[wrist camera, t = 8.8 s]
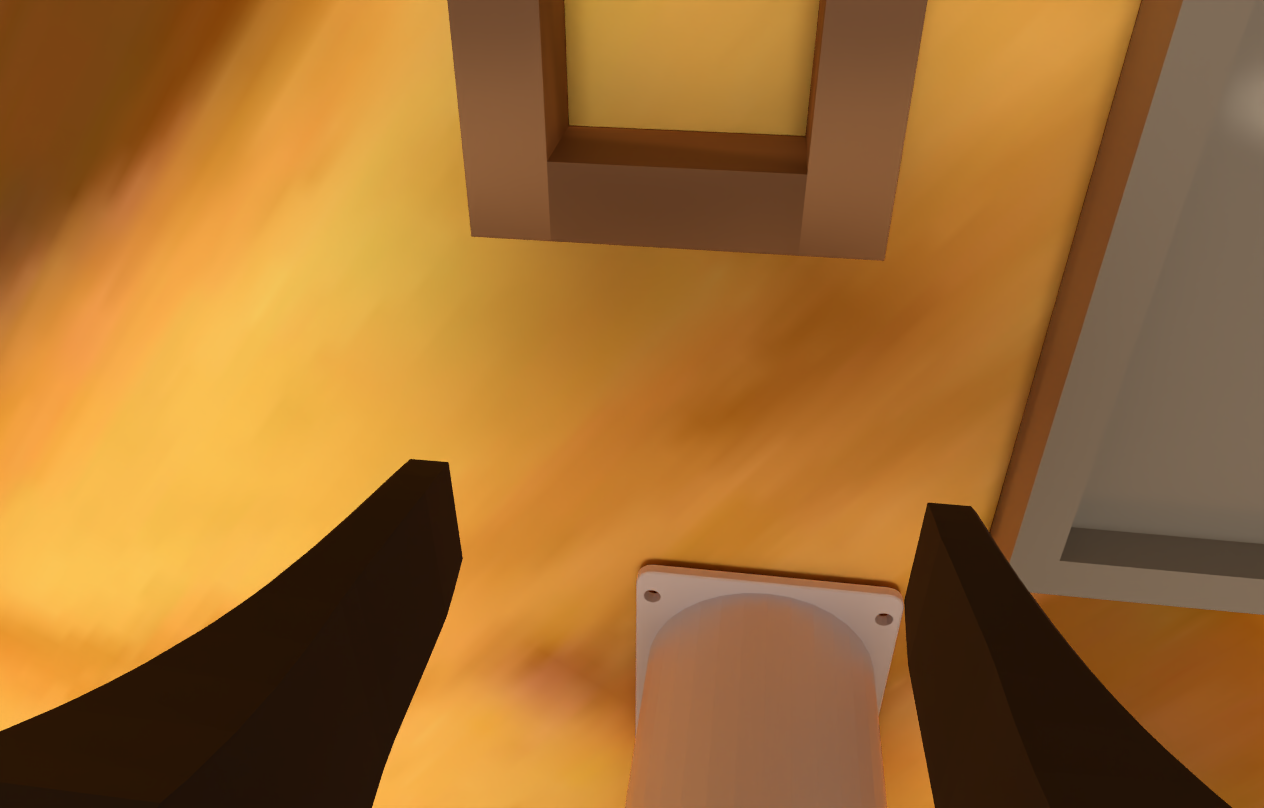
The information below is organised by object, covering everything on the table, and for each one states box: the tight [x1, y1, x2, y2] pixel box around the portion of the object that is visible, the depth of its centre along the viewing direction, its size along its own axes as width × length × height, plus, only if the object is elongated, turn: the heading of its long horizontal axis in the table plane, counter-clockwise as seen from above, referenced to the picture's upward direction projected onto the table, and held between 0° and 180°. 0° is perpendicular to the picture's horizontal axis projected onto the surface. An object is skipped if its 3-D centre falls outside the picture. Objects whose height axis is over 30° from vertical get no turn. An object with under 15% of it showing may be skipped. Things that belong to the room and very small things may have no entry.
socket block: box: [447, 0, 927, 261], centre depth 19 cm, size 9×9×2 cm
